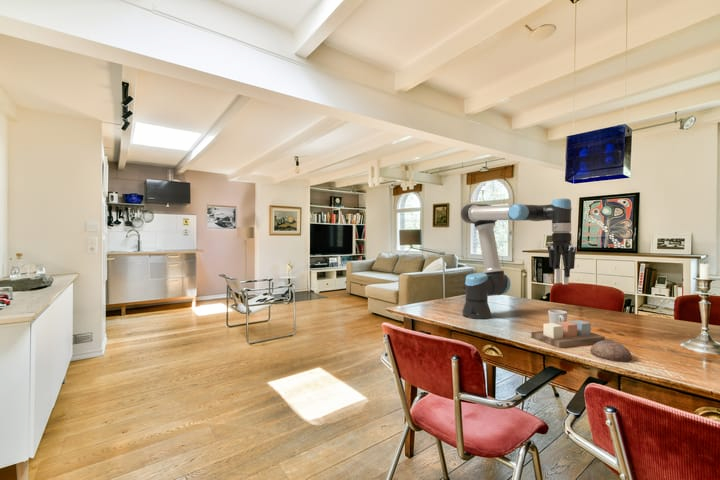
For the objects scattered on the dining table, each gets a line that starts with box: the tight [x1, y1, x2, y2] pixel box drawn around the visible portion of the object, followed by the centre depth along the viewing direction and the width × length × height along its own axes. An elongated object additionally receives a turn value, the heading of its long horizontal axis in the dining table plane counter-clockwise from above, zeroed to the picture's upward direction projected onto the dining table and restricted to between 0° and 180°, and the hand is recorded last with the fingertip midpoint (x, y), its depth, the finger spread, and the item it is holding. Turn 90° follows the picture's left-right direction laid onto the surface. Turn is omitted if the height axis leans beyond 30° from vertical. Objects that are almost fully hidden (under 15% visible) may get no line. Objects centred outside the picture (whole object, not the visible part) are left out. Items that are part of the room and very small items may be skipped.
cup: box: [547, 309, 569, 324], centre depth 153 cm, size 11×8×8 cm
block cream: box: [542, 322, 563, 339], centre depth 135 cm, size 5×5×5 cm
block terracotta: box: [557, 321, 577, 337], centre depth 137 cm, size 5×5×5 cm
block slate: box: [570, 319, 592, 335], centre depth 139 cm, size 5×5×5 cm
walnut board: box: [530, 330, 606, 349], centre depth 137 cm, size 14×24×2 cm, turn 106°
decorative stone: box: [590, 339, 633, 363], centre depth 118 cm, size 12×12×6 cm
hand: (561, 283), depth 147 cm, fingers open, 3 cm apart
